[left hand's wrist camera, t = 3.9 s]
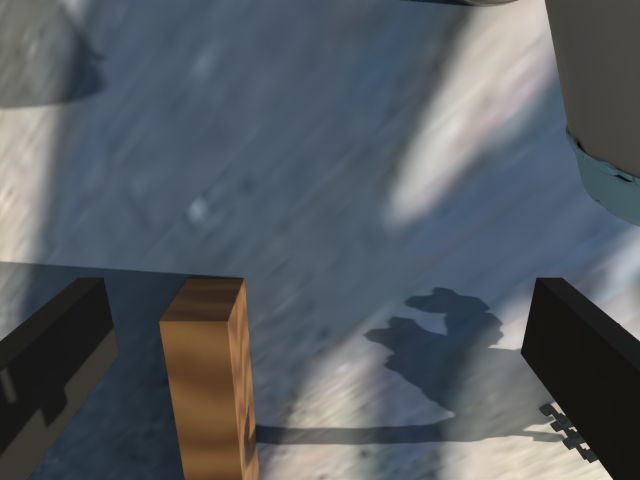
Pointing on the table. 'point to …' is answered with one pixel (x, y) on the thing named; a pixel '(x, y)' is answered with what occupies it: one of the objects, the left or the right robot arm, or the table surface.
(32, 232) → the table surface
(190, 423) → the bar
